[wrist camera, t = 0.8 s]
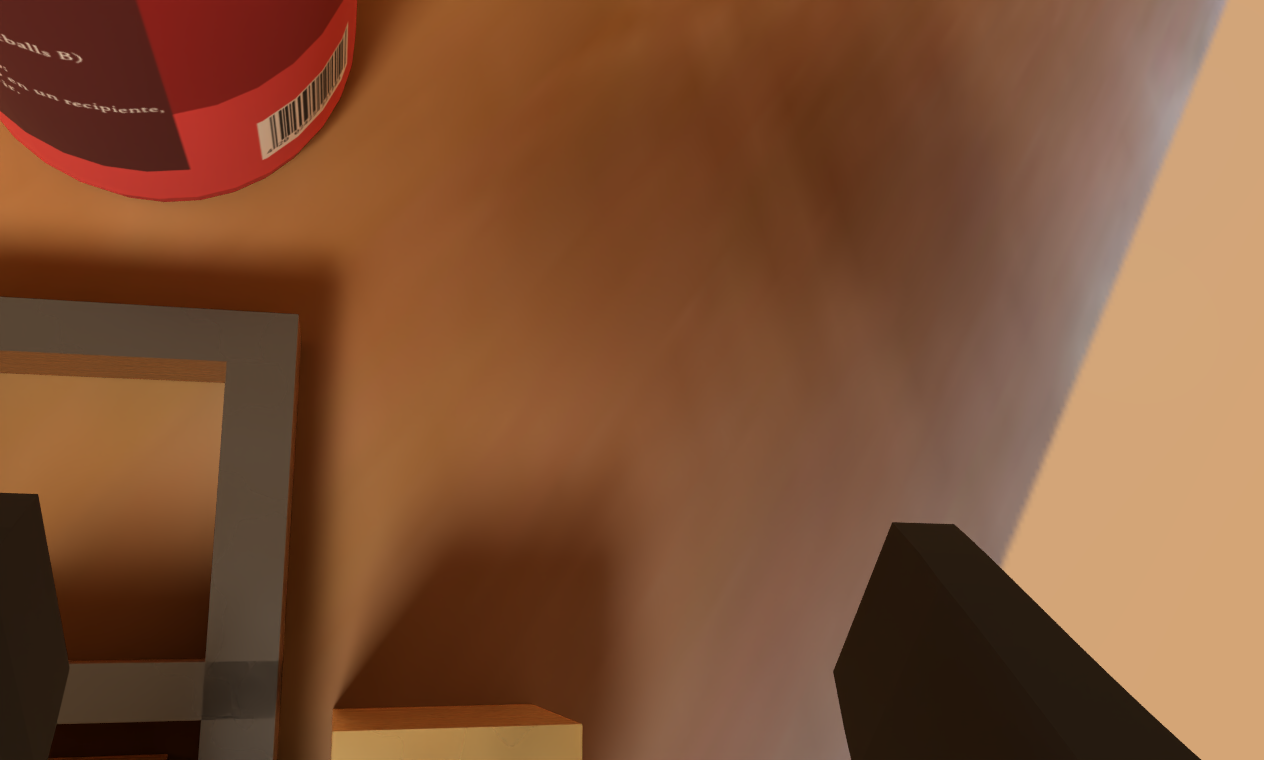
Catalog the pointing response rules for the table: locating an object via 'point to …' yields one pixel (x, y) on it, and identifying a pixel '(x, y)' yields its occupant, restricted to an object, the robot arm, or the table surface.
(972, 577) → the robot arm
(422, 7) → the table surface
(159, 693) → the grey open box
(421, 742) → the honey wood cube
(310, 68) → the canned food
